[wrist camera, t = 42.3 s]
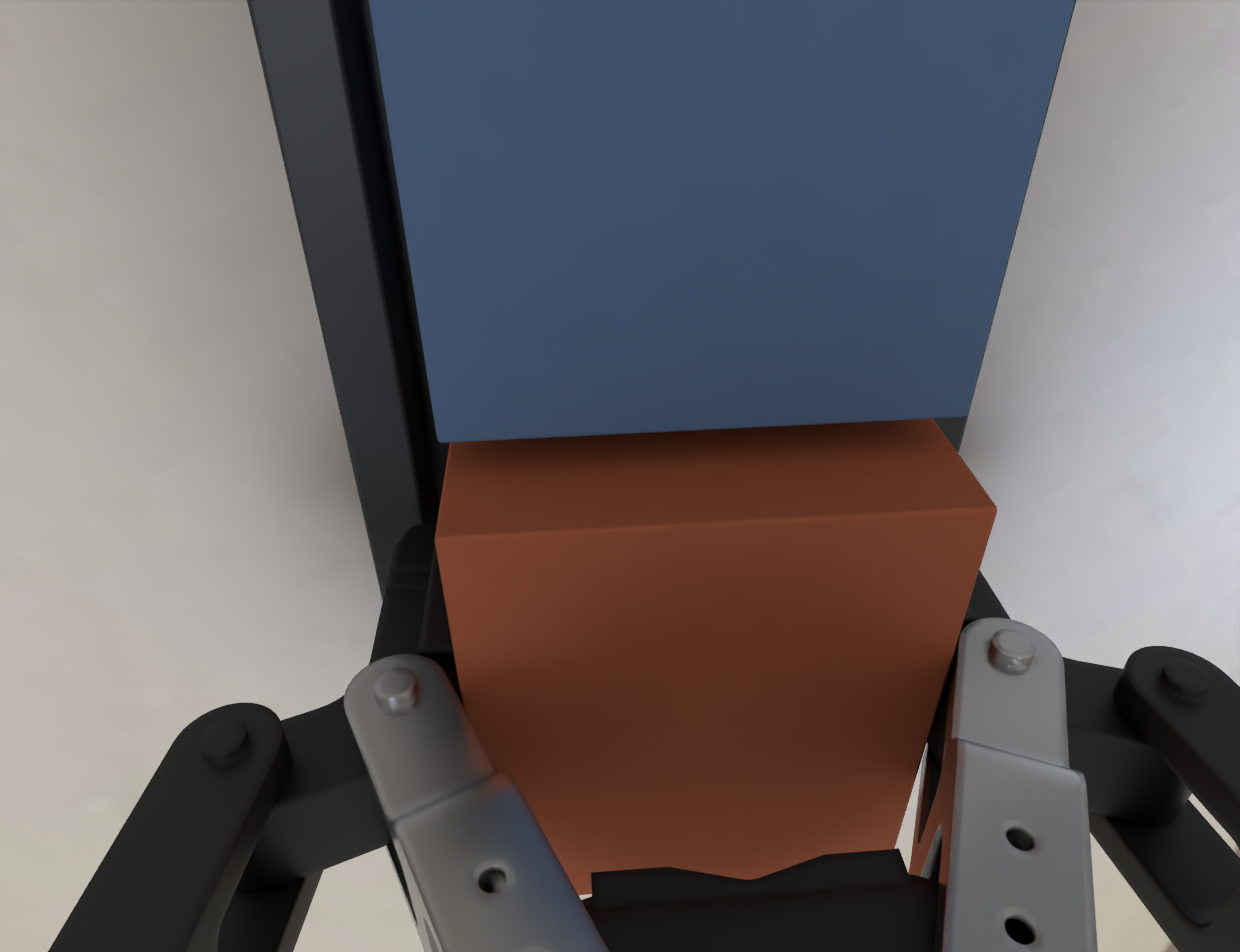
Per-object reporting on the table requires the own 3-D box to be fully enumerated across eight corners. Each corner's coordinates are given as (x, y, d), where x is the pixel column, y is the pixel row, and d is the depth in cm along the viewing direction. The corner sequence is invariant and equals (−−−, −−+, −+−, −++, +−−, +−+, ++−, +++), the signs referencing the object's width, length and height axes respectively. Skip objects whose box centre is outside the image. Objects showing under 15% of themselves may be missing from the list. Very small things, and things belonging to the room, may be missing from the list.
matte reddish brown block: (466, 328, 13) (433, 539, 9) (859, 313, 13) (1000, 508, 9) (506, 655, 17) (495, 903, 13) (806, 636, 17) (888, 872, 13)
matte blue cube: (397, -332, 10) (290, -485, 5) (926, -330, 10) (1201, -473, 6) (467, 272, 14) (436, 445, 9) (842, 258, 14) (968, 418, 10)
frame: (171, -603, 9) (80, -720, 7) (1125, -582, 9) (1258, -684, 8) (425, 669, 19) (414, 747, 18) (861, 641, 20) (892, 714, 18)
